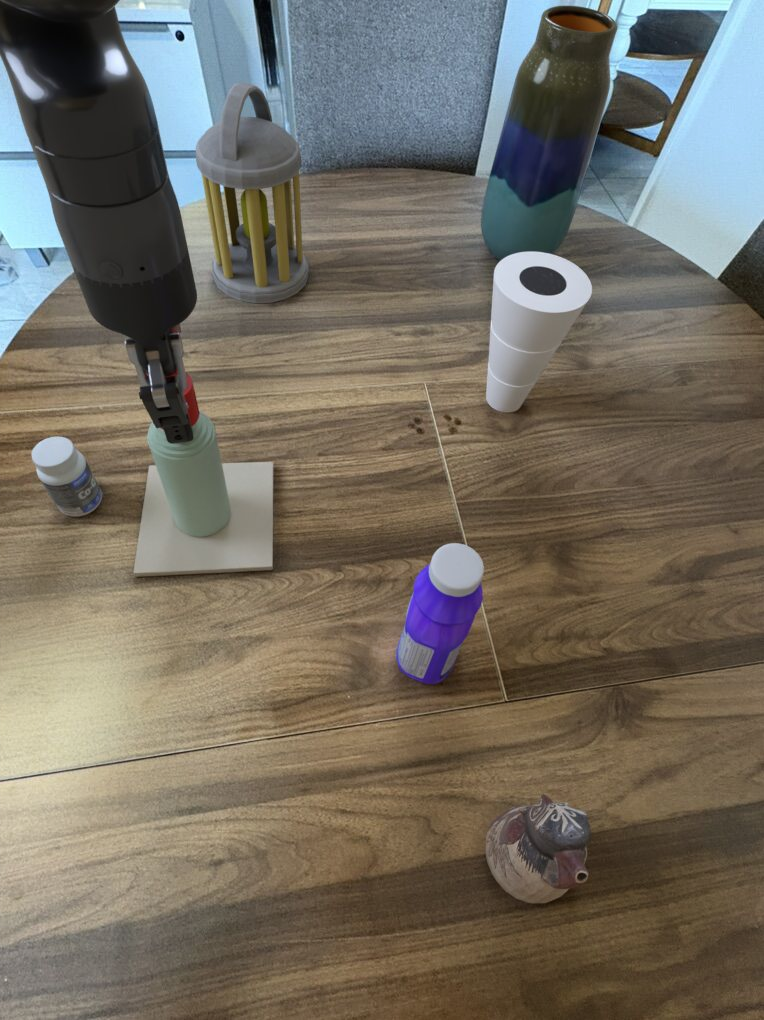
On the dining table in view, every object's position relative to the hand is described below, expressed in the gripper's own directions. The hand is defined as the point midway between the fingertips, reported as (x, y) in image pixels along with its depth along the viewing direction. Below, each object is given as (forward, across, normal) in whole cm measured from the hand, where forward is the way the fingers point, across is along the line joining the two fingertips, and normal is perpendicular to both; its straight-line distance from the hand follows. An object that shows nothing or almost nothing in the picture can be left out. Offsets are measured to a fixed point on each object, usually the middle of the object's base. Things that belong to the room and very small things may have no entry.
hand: (179, 421), depth 55 cm
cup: (+16, +11, -40) cm, 44 cm away
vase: (+16, +42, -54) cm, 70 cm away
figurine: (+16, -39, -22) cm, 48 cm away
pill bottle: (+16, +5, +13) cm, 21 cm away
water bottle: (+15, 0, 0) cm, 15 cm away
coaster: (+16, 0, 0) cm, 16 cm away
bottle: (+16, -20, -19) cm, 32 cm away
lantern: (+16, +43, -12) cm, 47 cm away
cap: (-1, 0, 0) cm, 1 cm away
